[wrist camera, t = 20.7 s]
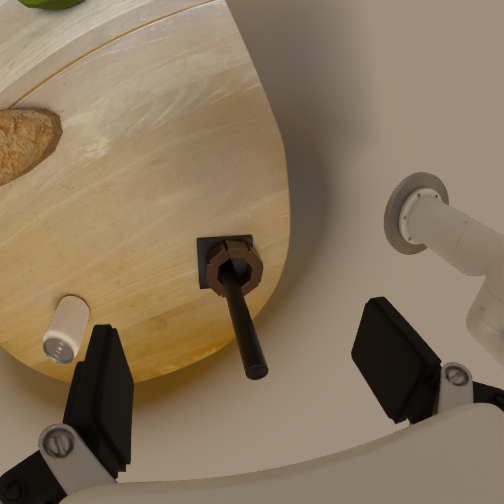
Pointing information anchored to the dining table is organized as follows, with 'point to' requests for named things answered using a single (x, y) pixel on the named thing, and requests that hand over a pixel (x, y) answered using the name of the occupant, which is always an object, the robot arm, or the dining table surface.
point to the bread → (26, 140)
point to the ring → (237, 252)
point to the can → (66, 330)
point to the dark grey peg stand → (236, 304)
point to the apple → (49, 3)
